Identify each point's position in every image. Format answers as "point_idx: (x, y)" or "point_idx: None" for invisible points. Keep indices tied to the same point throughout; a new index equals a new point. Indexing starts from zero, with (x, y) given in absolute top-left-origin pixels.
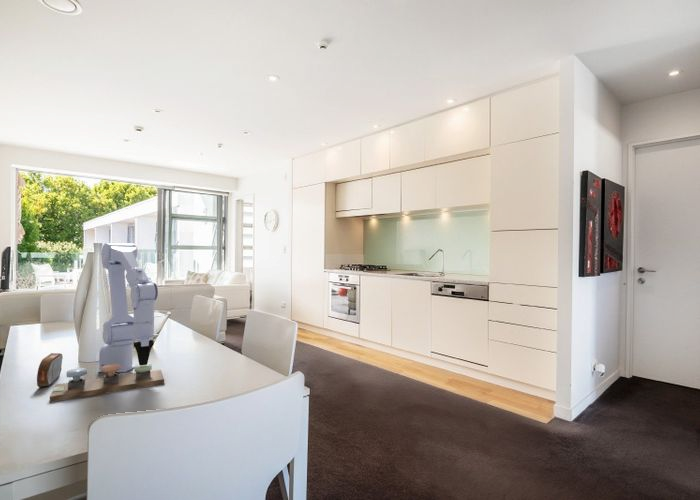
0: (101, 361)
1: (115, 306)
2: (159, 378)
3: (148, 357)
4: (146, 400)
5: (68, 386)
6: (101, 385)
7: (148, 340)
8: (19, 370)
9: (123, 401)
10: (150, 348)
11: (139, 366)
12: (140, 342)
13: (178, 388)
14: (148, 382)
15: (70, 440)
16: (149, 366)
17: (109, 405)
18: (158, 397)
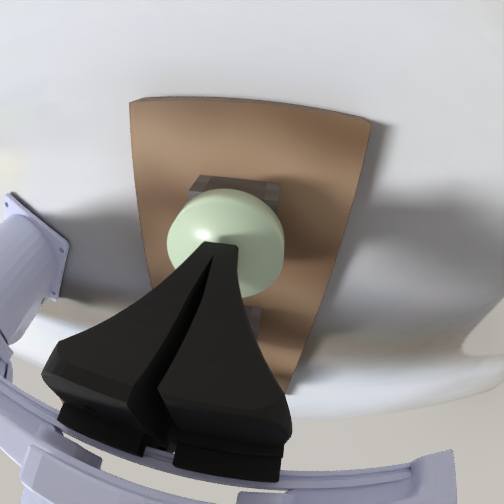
0: (34, 314)
1: None
2: (337, 143)
3: (236, 280)
4: (489, 246)
5: None
6: (262, 345)
7: (455, 501)
8: (44, 363)
9: (435, 298)
10: (264, 366)
11: None
12: (164, 446)
13: (477, 98)
14: (350, 206)
15: (501, 361)
16: (265, 226)
17: (429, 326)
18: (501, 207)
